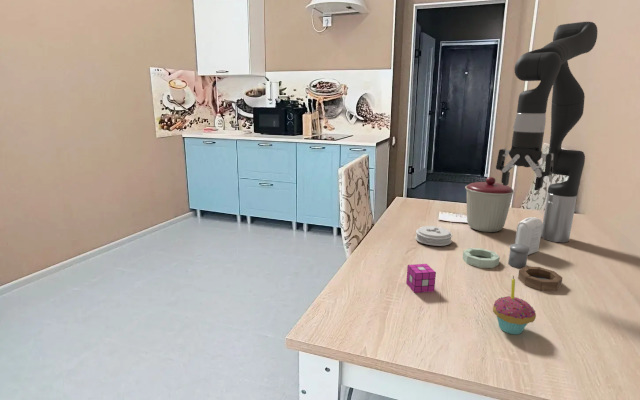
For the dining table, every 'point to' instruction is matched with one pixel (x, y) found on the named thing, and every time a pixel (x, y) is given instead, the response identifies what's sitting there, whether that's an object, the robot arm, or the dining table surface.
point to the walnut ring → (540, 278)
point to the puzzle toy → (420, 278)
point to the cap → (518, 255)
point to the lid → (433, 235)
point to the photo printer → (529, 233)
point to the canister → (488, 205)
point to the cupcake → (513, 312)
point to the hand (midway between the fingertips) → (520, 187)
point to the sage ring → (481, 257)
